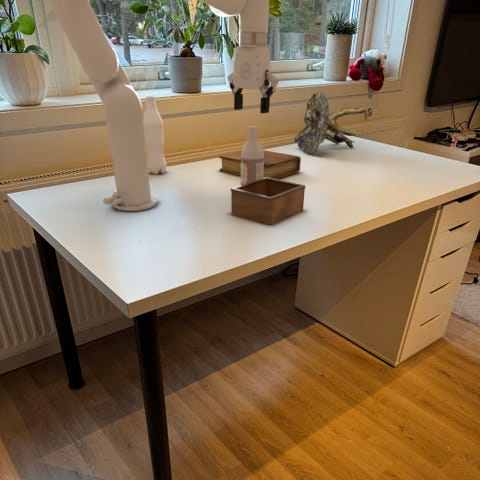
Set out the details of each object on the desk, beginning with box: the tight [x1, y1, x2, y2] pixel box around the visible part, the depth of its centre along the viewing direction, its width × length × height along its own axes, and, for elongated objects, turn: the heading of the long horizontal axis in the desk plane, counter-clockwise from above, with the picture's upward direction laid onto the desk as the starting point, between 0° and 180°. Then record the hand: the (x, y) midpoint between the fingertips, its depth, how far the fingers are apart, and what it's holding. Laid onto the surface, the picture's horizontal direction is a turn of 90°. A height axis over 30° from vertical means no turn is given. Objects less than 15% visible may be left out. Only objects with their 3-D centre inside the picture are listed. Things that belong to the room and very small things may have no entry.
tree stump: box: [294, 92, 367, 155], centre depth 194 cm, size 23×26×35 cm
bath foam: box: [240, 125, 264, 185], centre depth 136 cm, size 7×7×20 cm
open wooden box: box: [230, 177, 306, 226], centre depth 125 cm, size 16×14×7 cm
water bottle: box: [143, 96, 168, 175], centre depth 158 cm, size 7×7×25 cm
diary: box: [218, 149, 302, 180], centre depth 164 cm, size 23×19×6 cm
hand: (251, 111), depth 128 cm, fingers open, 9 cm apart
